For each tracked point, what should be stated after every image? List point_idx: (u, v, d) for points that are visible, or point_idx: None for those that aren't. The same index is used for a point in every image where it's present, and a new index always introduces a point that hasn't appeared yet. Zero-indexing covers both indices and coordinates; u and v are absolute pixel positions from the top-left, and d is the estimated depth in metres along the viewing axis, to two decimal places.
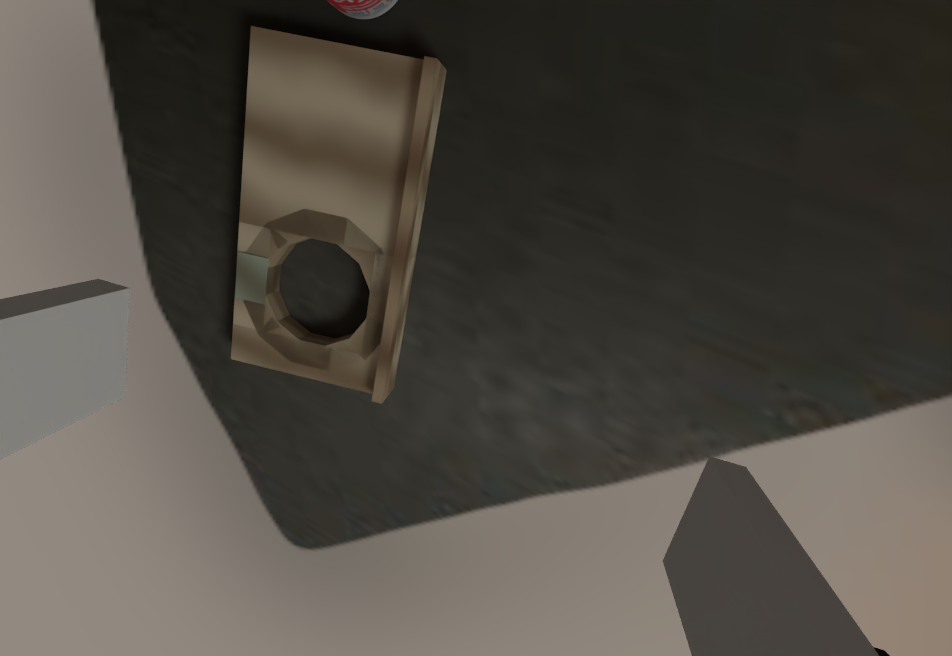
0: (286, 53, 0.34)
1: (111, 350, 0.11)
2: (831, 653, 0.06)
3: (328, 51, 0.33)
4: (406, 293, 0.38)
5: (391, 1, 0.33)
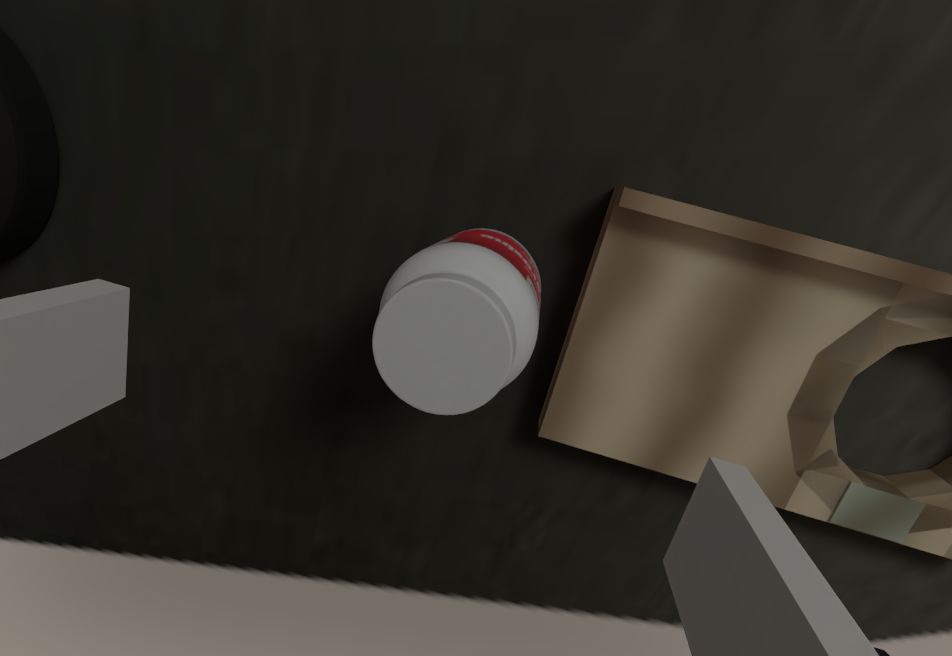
0: (575, 398, 0.26)
1: (111, 350, 0.11)
2: (831, 653, 0.06)
3: (581, 343, 0.25)
4: None
5: (528, 253, 0.25)
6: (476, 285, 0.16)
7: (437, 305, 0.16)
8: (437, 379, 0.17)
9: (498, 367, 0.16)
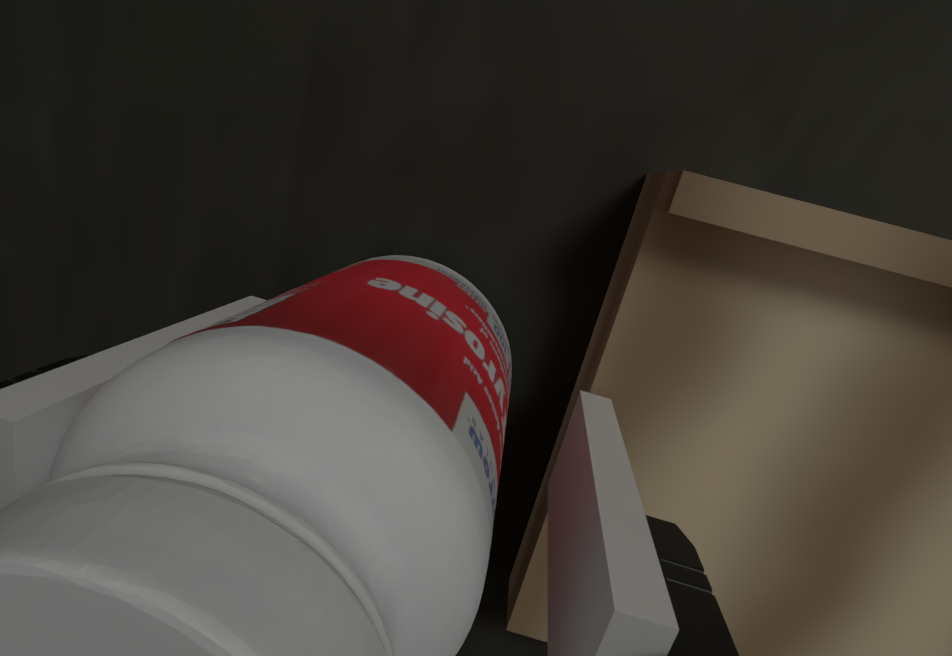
0: None
1: None
2: (602, 506, 0.08)
3: None
4: None
5: (485, 304, 0.13)
6: (202, 564, 0.04)
7: None
8: None
9: None
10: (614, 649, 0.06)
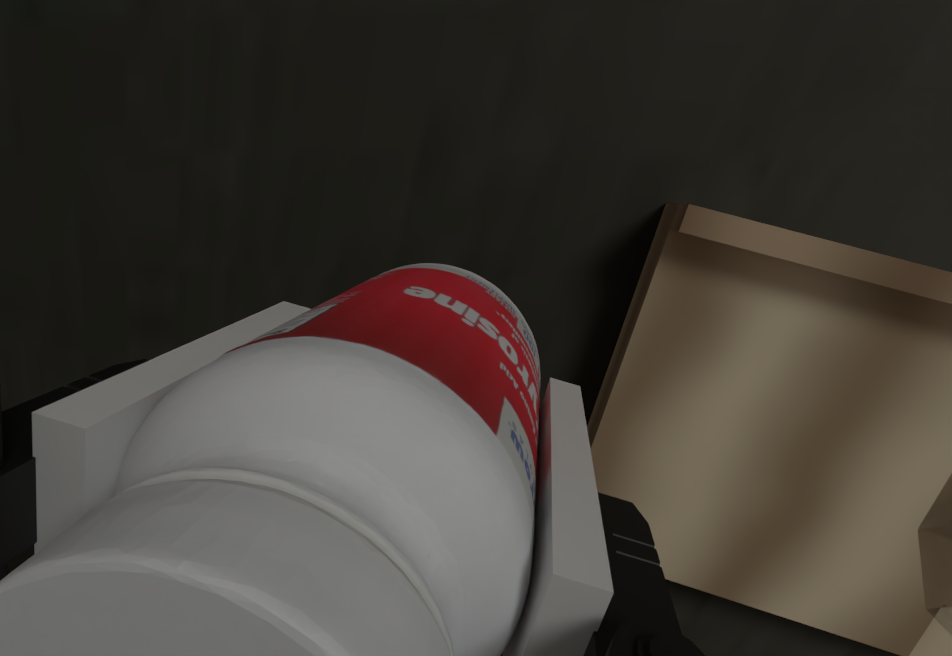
0: None
1: None
2: (556, 483, 0.08)
3: (619, 422, 0.18)
4: None
5: (514, 309, 0.13)
6: (284, 562, 0.04)
7: (130, 648, 0.04)
8: None
9: None
10: (554, 612, 0.06)
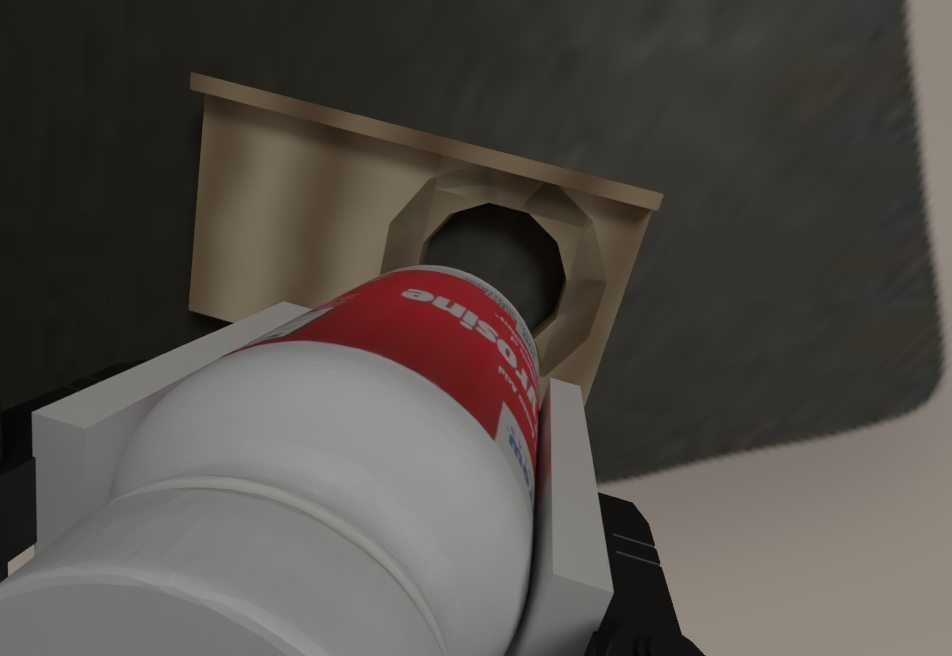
0: (211, 273, 0.29)
1: None
2: (556, 482, 0.08)
3: (205, 221, 0.28)
4: None
5: (513, 311, 0.13)
6: (278, 573, 0.04)
7: None
8: None
9: None
10: (554, 612, 0.06)
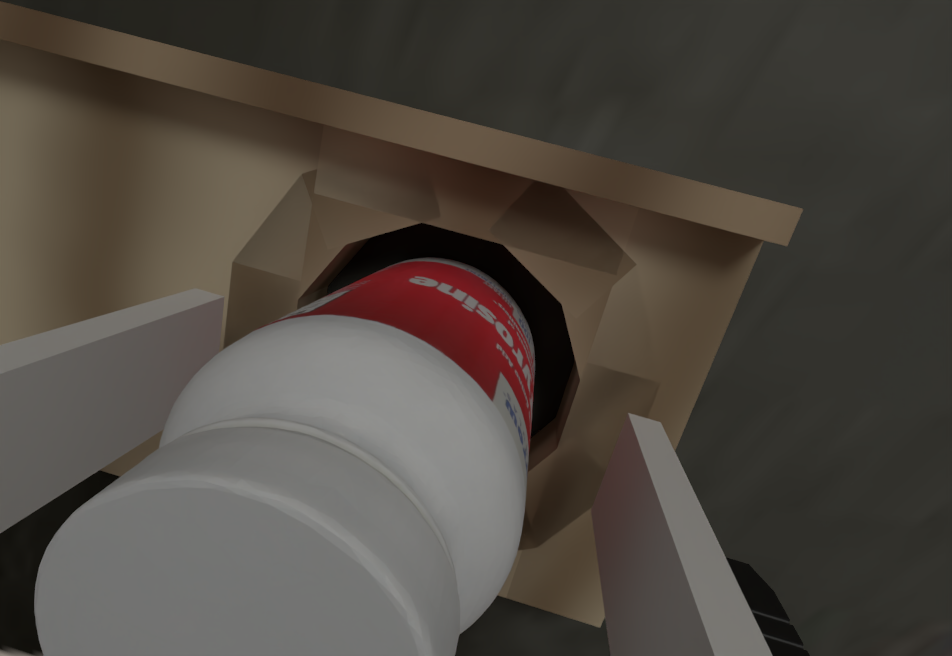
0: None
1: (208, 354, 0.12)
2: (681, 552, 0.07)
3: None
4: None
5: (510, 300, 0.14)
6: (319, 485, 0.05)
7: (195, 553, 0.05)
8: None
9: None
10: None
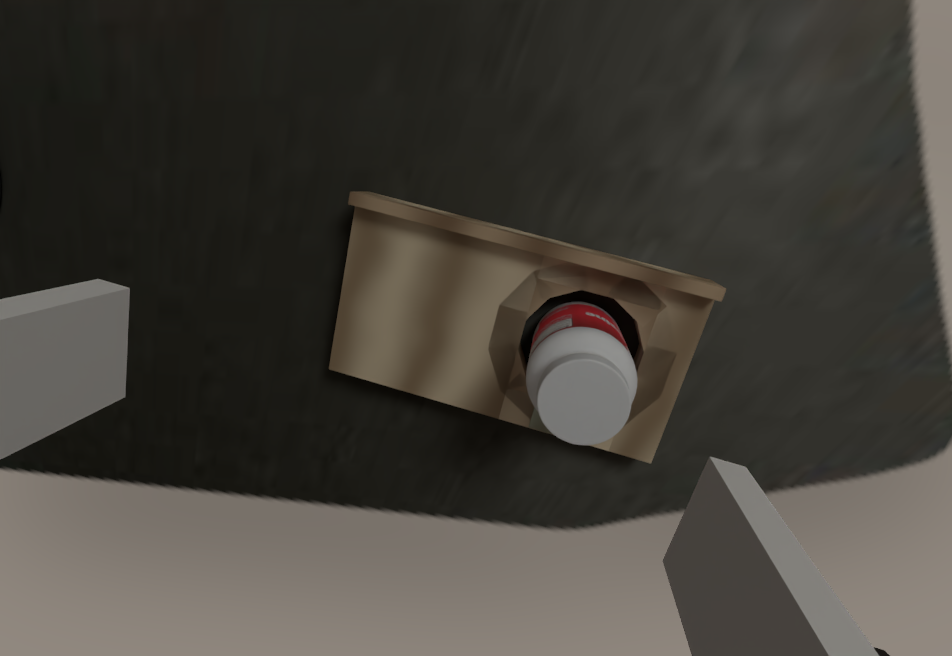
0: (349, 341, 0.36)
1: (111, 350, 0.11)
2: (831, 653, 0.06)
3: (348, 301, 0.36)
4: (588, 249, 0.33)
5: (613, 319, 0.34)
6: (606, 362, 0.25)
7: (581, 375, 0.25)
8: (580, 422, 0.26)
9: (621, 414, 0.25)
10: None
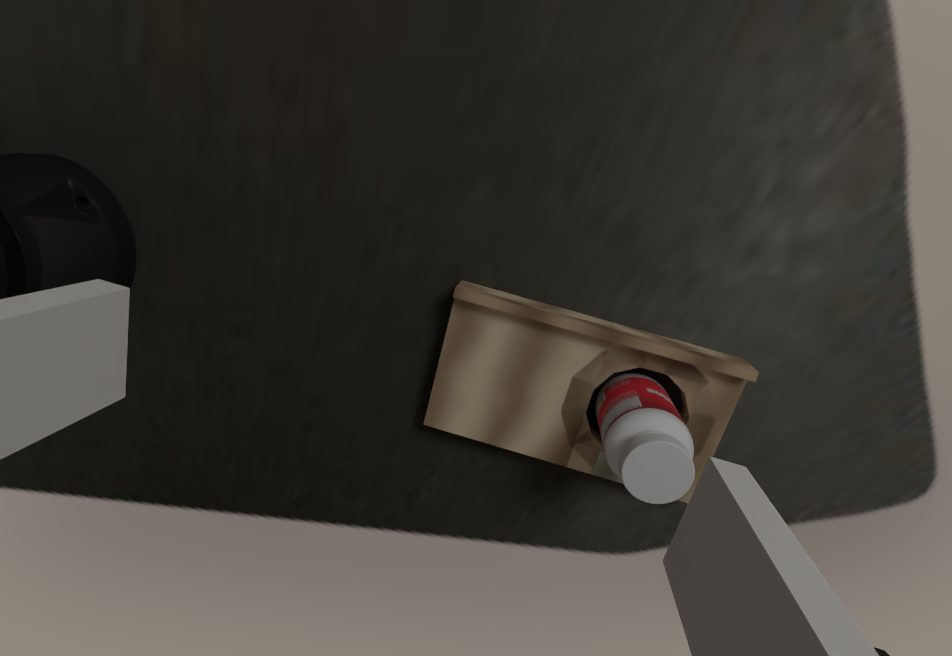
0: (443, 402, 0.44)
1: (111, 350, 0.11)
2: (831, 653, 0.06)
3: (444, 370, 0.43)
4: (646, 334, 0.41)
5: (664, 389, 0.42)
6: (676, 442, 0.33)
7: (657, 453, 0.33)
8: (654, 487, 0.33)
9: (687, 481, 0.33)
10: None
